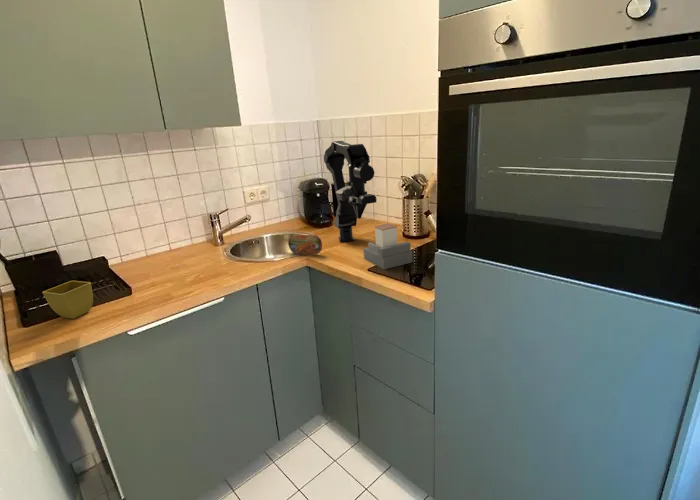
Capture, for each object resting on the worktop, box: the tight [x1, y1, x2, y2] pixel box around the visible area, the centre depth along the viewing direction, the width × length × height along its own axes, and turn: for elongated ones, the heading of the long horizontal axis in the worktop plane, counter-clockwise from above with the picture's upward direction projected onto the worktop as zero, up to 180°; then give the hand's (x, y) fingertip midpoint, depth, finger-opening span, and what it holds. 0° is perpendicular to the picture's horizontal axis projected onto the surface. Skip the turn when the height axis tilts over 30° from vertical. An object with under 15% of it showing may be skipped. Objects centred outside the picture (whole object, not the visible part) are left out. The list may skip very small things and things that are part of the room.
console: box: [363, 241, 413, 270], centre depth 137 cm, size 14×12×7 cm
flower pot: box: [42, 280, 94, 319], centre depth 110 cm, size 9×9×9 cm
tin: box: [287, 232, 323, 256], centre depth 151 cm, size 15×3×8 cm, turn 62°
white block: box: [374, 223, 398, 248], centre depth 136 cm, size 5×6×9 cm
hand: (359, 218), depth 148 cm, fingers closed
